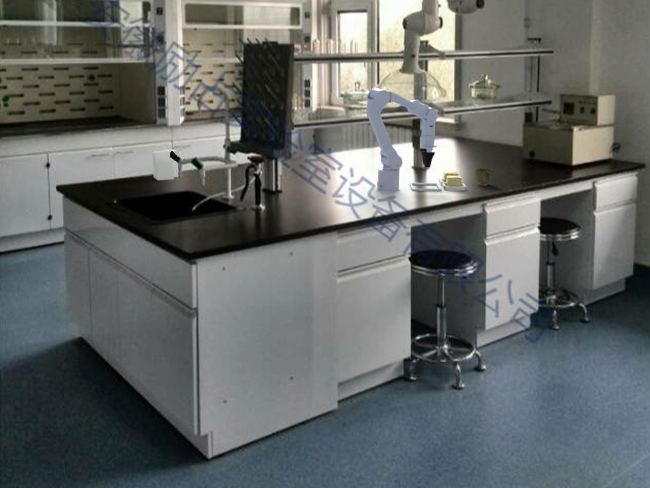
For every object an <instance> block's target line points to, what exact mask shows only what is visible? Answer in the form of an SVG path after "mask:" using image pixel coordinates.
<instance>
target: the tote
mask: <svg viewBox="0 0 650 488" xmlns="http://www.w3.org/2000/svg"><path fill="white" fill-rule="evenodd" d="M408 185H409V187H410V189H411V191H412V192H415V191H417V192H442V190H443V188H442V186H441V185H440V183H439V182H435V183H434V182H409V184H408ZM414 186H435V187H436V188H415V187H414Z"/></svg>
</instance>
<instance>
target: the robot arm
mask: <svg viewBox="0 0 650 488" xmlns="http://www.w3.org/2000/svg"><path fill="white" fill-rule="evenodd" d="M366 100H367V103H366V116H367V118H368V120H369V123H370V126H371V128H372V131H373V133H374V136H375V138H376V140H377V144H378V145H379V148H380V152H379V154H380V162H381V163H380V164H382V168H379V169H377V170H378V171H377V183H376V185H377V189H378V190H377V191H401V188H400V171H401V170H400V168H401V167H402V166H403V159H402V157H401V156H400V154H399V153H398V151H397V150H396V149H395V147H394V146H393V144H392V141H391V139H390V136H389V132H388V131H387V128H386V126H385V123H384V121H383V118H382V116H381V113H382V111H383V109H384V108H385V107H386V106H387V105H388V104H389V103H390V104H391V103H395V104H396V105H399V106H402V107H404V108H406V109H407V111H408V113H410V114H413V115H415V116H416V117H418V118H420V119H421V124H422V125H421V136H420V137H421V141H420V147H419V150H420V152H421V153H420V154H421V159H422V164H423V165H424V168H426V169H430V168H431V166H432V162H433V158H434V156H435V154H436V152H435V151H433V149H434V148H437V147H438V146H437V144H435V135H436V121H437V120H438V119H439V118H438V117H439V114H438V111H437V109H436V108H434V107H430V105H429V104H427V103H426V104H424V103H422V102H421V101H420V100H419V99H413V100H409V99H407V98H405V97H404V96H401V95H399V94H397V93H396V92H393V91H389V90H387V89H380V88H378V87H373V88H371V89H370V90H369V92H368V94H367V96H366Z"/></svg>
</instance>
